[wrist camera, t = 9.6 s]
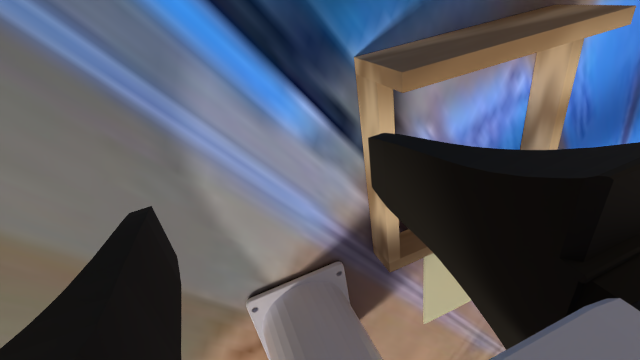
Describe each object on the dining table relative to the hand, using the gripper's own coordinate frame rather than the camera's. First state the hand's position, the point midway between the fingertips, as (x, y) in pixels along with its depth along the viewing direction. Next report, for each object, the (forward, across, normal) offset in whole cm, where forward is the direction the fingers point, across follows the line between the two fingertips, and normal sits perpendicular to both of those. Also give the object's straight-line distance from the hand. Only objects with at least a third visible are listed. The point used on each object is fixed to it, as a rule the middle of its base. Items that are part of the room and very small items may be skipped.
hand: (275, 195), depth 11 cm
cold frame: (+9, -16, +6) cm, 20 cm away
